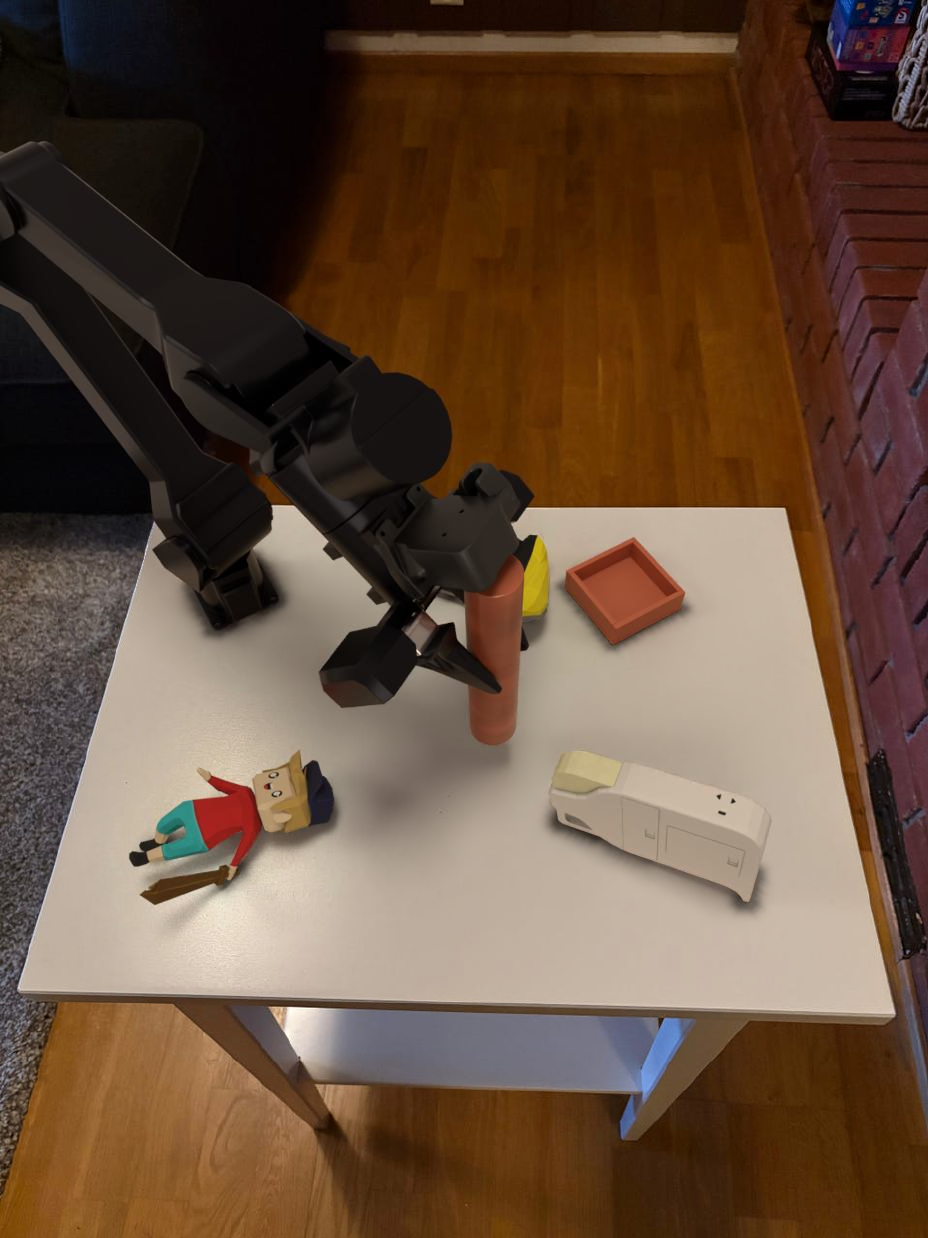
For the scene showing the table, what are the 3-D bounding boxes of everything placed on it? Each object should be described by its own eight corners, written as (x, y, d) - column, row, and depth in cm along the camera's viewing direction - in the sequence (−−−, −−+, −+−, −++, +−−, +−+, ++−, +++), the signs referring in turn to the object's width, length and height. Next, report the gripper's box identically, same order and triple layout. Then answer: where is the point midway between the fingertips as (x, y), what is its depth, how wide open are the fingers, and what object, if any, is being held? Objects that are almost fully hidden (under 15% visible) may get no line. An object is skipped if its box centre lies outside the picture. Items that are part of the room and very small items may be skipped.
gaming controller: (534, 652, 76) (571, 568, 81) (537, 616, 71) (575, 529, 76) (379, 602, 79) (423, 524, 84) (372, 564, 75) (420, 485, 80)
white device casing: (566, 805, 70) (757, 869, 64) (554, 836, 68) (748, 904, 63) (556, 734, 61) (776, 801, 56) (542, 768, 60) (766, 840, 54)
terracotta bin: (564, 586, 80) (566, 570, 78) (630, 553, 82) (634, 536, 80) (612, 645, 76) (615, 629, 74) (680, 608, 78) (685, 592, 76)
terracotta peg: (460, 731, 66) (451, 580, 51) (485, 696, 68) (484, 540, 53) (500, 754, 65) (503, 606, 50) (525, 718, 67) (535, 565, 51)
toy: (111, 786, 63) (312, 722, 66) (138, 826, 68) (324, 765, 71) (126, 903, 57) (345, 828, 60) (154, 938, 62) (356, 866, 65)
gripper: (330, 589, 42) (524, 786, 48) (511, 367, 51) (656, 555, 57) (240, 617, 51) (413, 781, 57) (408, 424, 60) (542, 581, 66)
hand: (510, 670), depth 59 cm, fingers closed on terracotta peg, 3 cm apart
